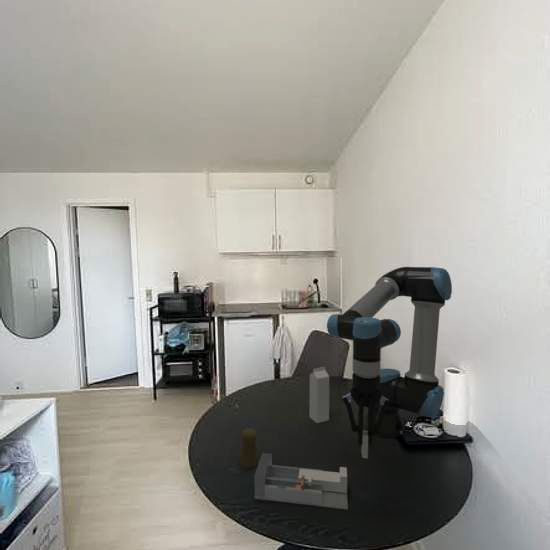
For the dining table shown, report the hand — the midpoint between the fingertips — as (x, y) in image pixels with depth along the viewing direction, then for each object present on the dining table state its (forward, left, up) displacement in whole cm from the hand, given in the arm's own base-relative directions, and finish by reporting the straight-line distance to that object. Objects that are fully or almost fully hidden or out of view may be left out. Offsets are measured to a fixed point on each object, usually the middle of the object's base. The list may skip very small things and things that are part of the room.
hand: (364, 455), depth 97 cm
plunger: (+12, 0, -12) cm, 16 cm away
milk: (+14, -45, -13) cm, 49 cm away
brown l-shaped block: (+18, +4, -12) cm, 22 cm away
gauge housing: (+18, 0, -13) cm, 22 cm away
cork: (+36, -11, -13) cm, 40 cm away
